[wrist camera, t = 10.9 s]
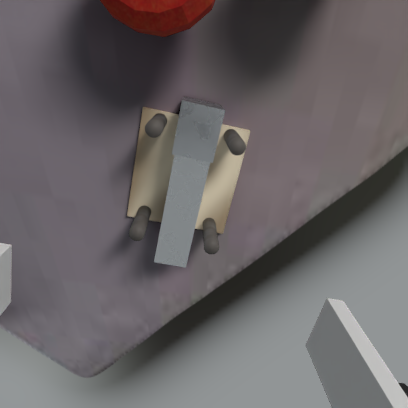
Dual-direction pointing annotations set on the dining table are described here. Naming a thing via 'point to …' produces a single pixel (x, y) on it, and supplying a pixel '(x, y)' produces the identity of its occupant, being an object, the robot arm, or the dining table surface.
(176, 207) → the grey stepped post
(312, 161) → the dining table surface
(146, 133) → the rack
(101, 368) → the dining table surface
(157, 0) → the apple
